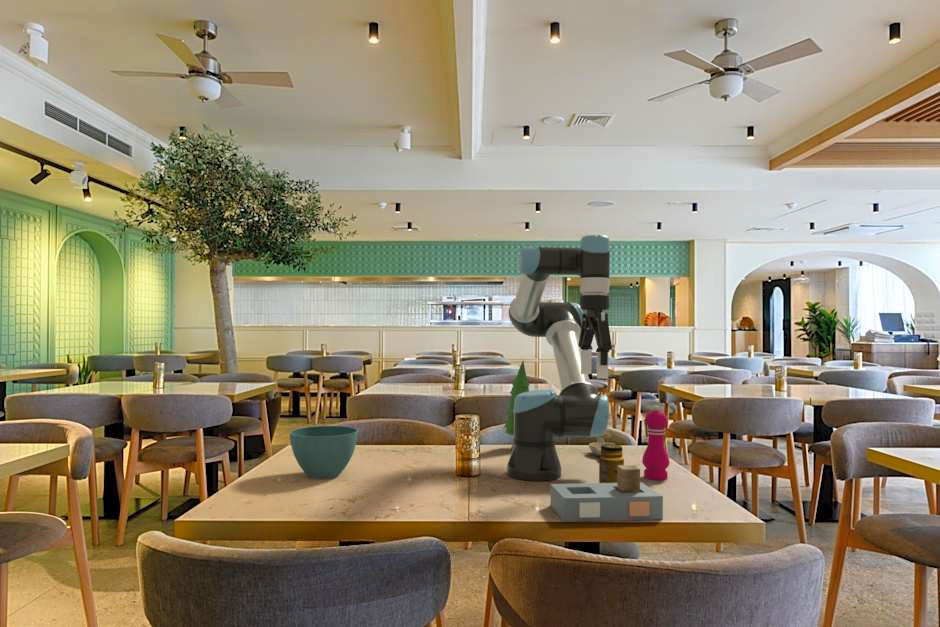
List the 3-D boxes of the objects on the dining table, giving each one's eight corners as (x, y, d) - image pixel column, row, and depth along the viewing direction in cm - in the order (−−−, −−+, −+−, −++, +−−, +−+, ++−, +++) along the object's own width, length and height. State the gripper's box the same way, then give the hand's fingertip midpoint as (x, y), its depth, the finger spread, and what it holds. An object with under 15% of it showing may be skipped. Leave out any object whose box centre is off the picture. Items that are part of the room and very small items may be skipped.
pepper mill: (670, 481, 171) (671, 407, 171) (643, 479, 172) (643, 406, 173) (667, 475, 178) (668, 403, 178) (641, 473, 179) (641, 403, 180)
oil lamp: (611, 449, 214) (611, 420, 214) (622, 463, 193) (622, 430, 193) (585, 449, 214) (585, 419, 215) (593, 462, 193) (593, 430, 193)
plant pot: (276, 475, 173) (276, 430, 173) (332, 464, 186) (332, 423, 186) (313, 487, 160) (314, 439, 160) (370, 475, 174) (371, 430, 174)
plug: (622, 514, 141) (622, 469, 141) (617, 509, 145) (617, 465, 145) (639, 514, 141) (640, 469, 141) (634, 509, 145) (634, 465, 145)
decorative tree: (538, 448, 213) (538, 359, 214) (521, 452, 206) (522, 360, 207) (515, 444, 220) (516, 358, 220) (498, 448, 212) (499, 359, 213)
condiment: (630, 496, 155) (630, 447, 155) (598, 498, 153) (598, 449, 153) (616, 489, 162) (617, 442, 162) (586, 490, 160) (586, 443, 160)
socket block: (564, 522, 134) (564, 499, 134) (550, 505, 147) (550, 484, 147) (663, 520, 137) (664, 496, 137) (641, 503, 149) (641, 482, 149)
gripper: (625, 292, 153) (625, 380, 153) (593, 296, 178) (593, 372, 178) (595, 292, 152) (595, 380, 152) (567, 296, 177) (567, 372, 177)
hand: (594, 376), depth 165 cm, fingers open, 13 cm apart
